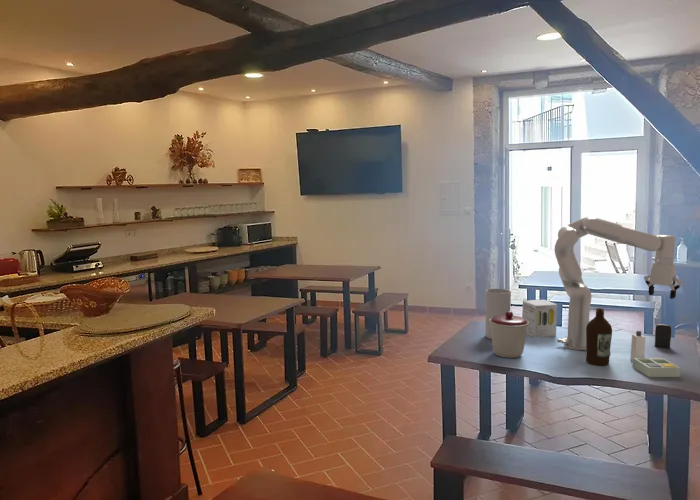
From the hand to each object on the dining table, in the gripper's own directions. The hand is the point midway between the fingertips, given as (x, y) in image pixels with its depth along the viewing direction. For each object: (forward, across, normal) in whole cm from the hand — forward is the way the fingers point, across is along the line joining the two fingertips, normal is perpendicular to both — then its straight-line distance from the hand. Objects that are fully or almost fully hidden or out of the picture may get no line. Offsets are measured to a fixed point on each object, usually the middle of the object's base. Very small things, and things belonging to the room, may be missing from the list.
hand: (661, 296), depth 256 cm
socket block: (+27, +14, -30) cm, 43 cm away
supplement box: (+28, -52, -21) cm, 63 cm away
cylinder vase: (+28, -61, -44) cm, 80 cm away
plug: (+27, +2, -23) cm, 35 cm away
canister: (+28, -38, -63) cm, 79 cm away
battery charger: (+27, -3, +10) cm, 29 cm away
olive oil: (+27, -7, -39) cm, 48 cm away
